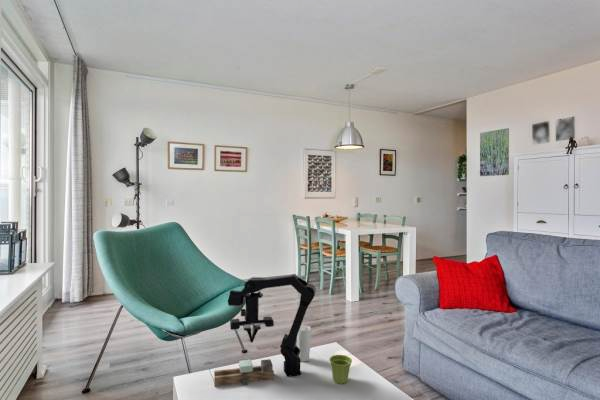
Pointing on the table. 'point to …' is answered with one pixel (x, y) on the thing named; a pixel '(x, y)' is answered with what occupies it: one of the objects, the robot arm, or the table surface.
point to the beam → (244, 375)
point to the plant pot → (340, 368)
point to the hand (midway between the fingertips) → (251, 342)
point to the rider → (245, 366)
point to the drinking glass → (304, 342)
